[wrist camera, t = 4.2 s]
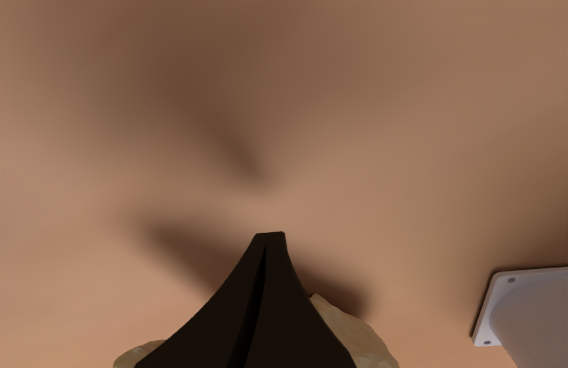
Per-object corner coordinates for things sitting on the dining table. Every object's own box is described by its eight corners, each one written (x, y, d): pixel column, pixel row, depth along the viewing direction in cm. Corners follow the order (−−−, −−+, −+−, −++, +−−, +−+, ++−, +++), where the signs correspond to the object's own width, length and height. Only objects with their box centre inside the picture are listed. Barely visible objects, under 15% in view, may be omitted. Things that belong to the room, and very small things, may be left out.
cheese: (387, 325, 24) (500, 364, 10) (367, 417, 22) (482, 635, 8) (239, 263, 27) (175, 230, 13) (207, 338, 25) (86, 393, 11)
